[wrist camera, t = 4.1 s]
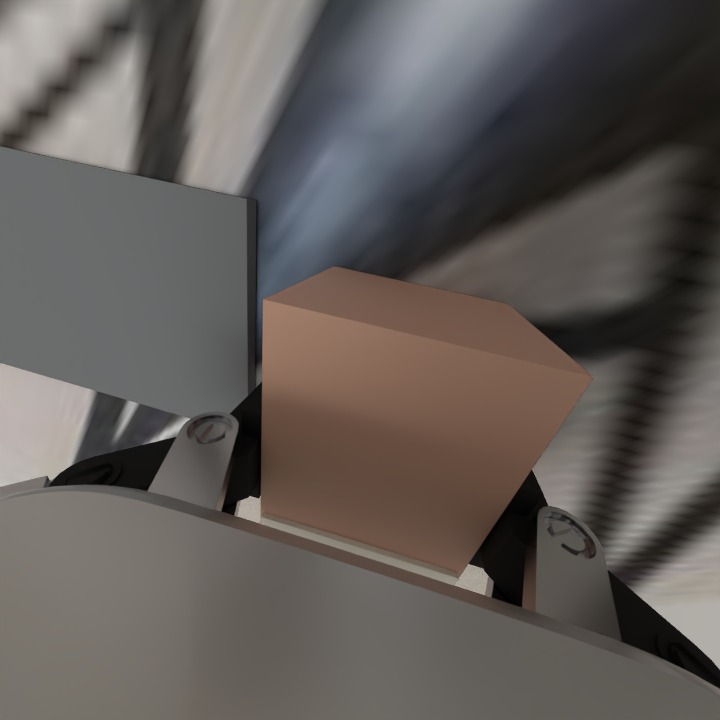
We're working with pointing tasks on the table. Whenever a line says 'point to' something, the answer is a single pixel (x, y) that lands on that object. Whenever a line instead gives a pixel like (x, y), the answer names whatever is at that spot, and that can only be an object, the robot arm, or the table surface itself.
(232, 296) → the mat
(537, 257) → the table surface
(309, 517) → the block
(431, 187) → the table surface
